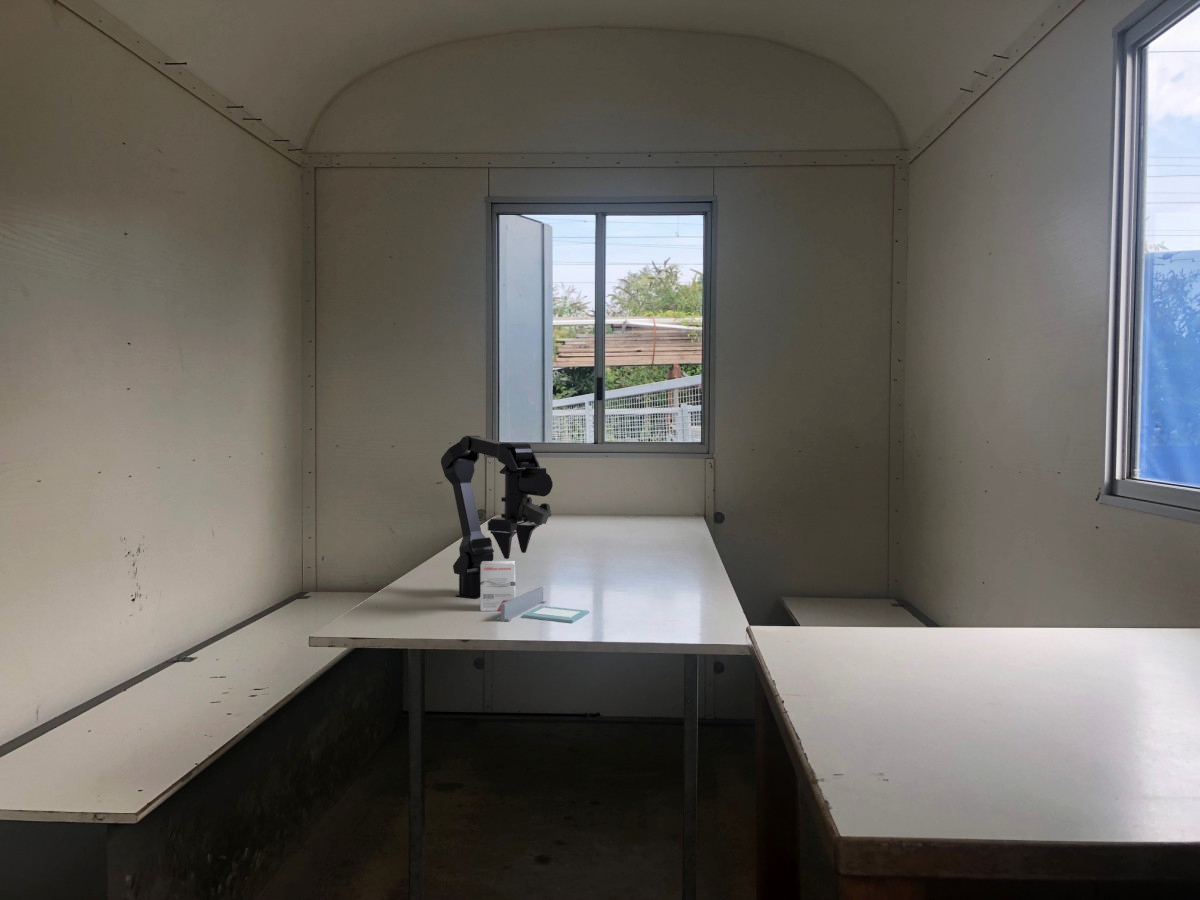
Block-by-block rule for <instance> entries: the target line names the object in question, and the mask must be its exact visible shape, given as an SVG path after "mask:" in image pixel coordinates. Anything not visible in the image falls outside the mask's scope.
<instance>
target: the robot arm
mask: <svg viewBox="0 0 1200 900" xmlns="http://www.w3.org/2000/svg"><path fill="white" fill-rule="evenodd" d="M531 446H532V445H531V444H530V443H528V442H503V441H500V440H499V441H498V440H495V439H490V438H486V437H482V436H481V435H465V436H463V437H461V439H460V440H459V441H457V443H455V444H453V445H452V446H451V447H449V448H448V449H447V450H446V452H444V454H443V455H442V457H441V459H440V465H441V467H442V471H443V474H444V477H445V478H446V479H447V481H448V482H449V483H450V484H451V485H452V490H453V493H454V499H455V503H456V508H457V514H458V519H459V523H460V528H461V534H462V539H461V542H460V545H459V548H458V550H459V555H458V558H457V559H456V561H455V562H454V563H453V564H452V570H453V573H454V574H456V575H458V593H456V594H455V597H456V598H465V599H474V600H475V599H480V575H481V562H482V561H494V552H495V550H494V549H493V543H492V541H493V540H492V539H491V537H489V536H488V537H486V536H485V535H484V533H482V528H481V522H480V519H479V518H480V517H479V514H478V508H477V503H476V498H475V494H474V489H473V485H472V480H473V477H474V475H475V469H476V468H475V464H476V463H477V462H478V460H479V459H480V454H482V455H485V456H489V457H492V458H496V459H497V461H498V463H501V464H502V465H504V467H503V468H501V470H500V471H499V474H501V475H504V496H501V500H500V501H501V502H502V503H503V502H504V513H501V514H500V517H499V516H498V517H493V518H490V519H489V520H488V522H487V531H489V533H490V534H492V536H493V538H494V539H495V542H496V543H497V546H498V548H499V550H500V551H501V554H502V557H503V558H504V559H505V560H509V559H510V555H511V548H512V540H513V537H514V536H515V535H516V536H517V541H518V545H519V550H520V552H521V554H522V553H524V554H525V553H527V549H528V546H529V543H530V539H531V538H532V534H533V532H534V531H535V530H536V529H537V528H539V527H540V526H542V525H546V524H547V523H548V519H549V518H550V517H551V516H552V510H551V506H550V505H551V504H549V503H547V502H544V503H543V502H542V503H541V504H540V505H539V504H534V503H533V502H532V501H533V499H532V496H535V497H536V496H537V497H546V496H548V495H549V494H550V493H552V492H551V491H552V489H553V485H554V484H553V481H552V477H551V475H549V473H547V468H546V467H541V466H540V463H539V461H538V460H537V459H538V458H536V455H535V453H534V451H533V449H532V447H531Z"/></svg>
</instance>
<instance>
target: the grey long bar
mask: <svg viewBox="0 0 1200 900" xmlns="http://www.w3.org/2000/svg"><path fill="white" fill-rule="evenodd" d="M546 603H547V601H546V600H544V587H542V586H538V587H537V588H535V589H531V590H530V591H528V592H525V593H522V594H521V595H518V596H515V598H513V599H511V600H509V601H506V602H504V603H502V604H501V611H500V616H499V617H497V621H499V622H511V621H512V619H513V618H515V617H517V616H519V615H521V614H524V613H526V612H528V611H529V610H531V609H532V608H533V609H534V607H536V606H538V605H540V604H543V605H544V604H546Z"/></svg>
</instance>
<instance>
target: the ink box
mask: <svg viewBox="0 0 1200 900" xmlns="http://www.w3.org/2000/svg"><path fill="white" fill-rule="evenodd" d="M513 598H516V561H515V560H493V561H482V562H481V575H480V598H479V600H480V601H479V602H480V603H479V604H480V606H479V609H480V611H481V612H498V611H499V612H501V604H502V603H504V602H506V601H509V600H511V599H513Z"/></svg>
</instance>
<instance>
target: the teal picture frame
mask: <svg viewBox="0 0 1200 900" xmlns="http://www.w3.org/2000/svg"><path fill="white" fill-rule="evenodd" d="M589 614H590V610H586V609H577V608H566V607H557V606H547V605H540V606H538V607H536V608H533V609H532V610H531V609H530V611H529V610H528V611H526V612H524V613H522V615H521V616H522V618H526V619H534V620H542V621H552V622H559V623H569V624H573V623H575V622H577V621H578V620H580V619H582V618H584V617H586V616H587V615H589Z"/></svg>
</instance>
